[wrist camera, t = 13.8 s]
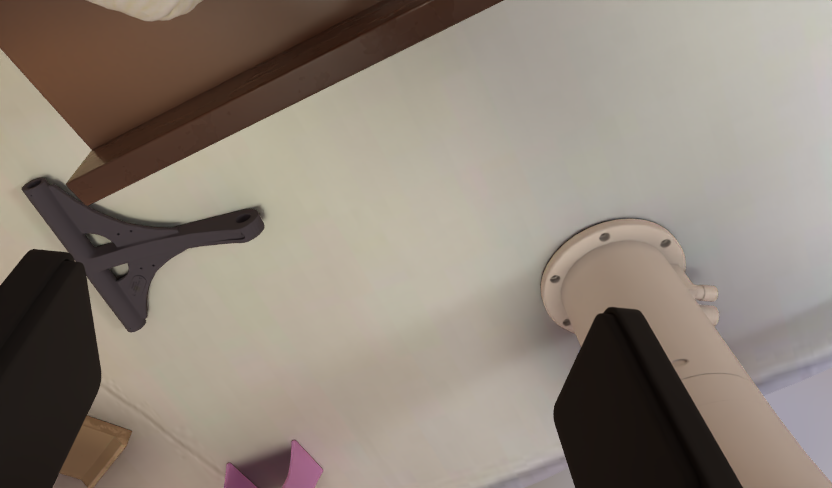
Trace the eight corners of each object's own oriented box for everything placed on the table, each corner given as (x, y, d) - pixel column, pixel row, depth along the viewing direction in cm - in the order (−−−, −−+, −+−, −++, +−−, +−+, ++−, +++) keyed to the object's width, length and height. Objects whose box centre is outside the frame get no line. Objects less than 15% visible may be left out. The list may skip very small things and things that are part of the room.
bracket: (295, 280, 50) (292, 302, 48) (130, 321, 51) (120, 344, 49) (224, 128, 42) (216, 145, 40) (28, 179, 43) (10, 199, 41)
